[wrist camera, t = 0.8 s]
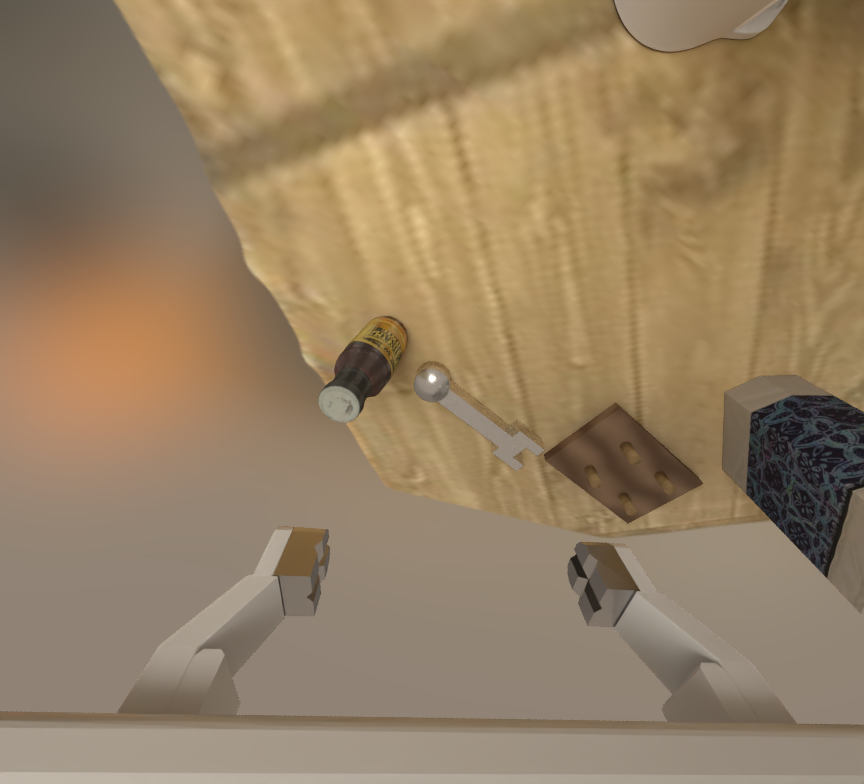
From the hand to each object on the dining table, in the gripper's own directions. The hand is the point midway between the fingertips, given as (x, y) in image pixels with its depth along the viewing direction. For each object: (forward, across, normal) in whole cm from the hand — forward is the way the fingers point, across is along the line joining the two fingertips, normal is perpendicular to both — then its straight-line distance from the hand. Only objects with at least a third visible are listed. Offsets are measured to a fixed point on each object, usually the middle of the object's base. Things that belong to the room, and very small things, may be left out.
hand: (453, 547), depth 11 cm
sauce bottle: (+39, +6, +5) cm, 40 cm away
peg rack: (+36, -35, +24) cm, 55 cm away
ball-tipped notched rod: (+38, -8, +16) cm, 42 cm away
